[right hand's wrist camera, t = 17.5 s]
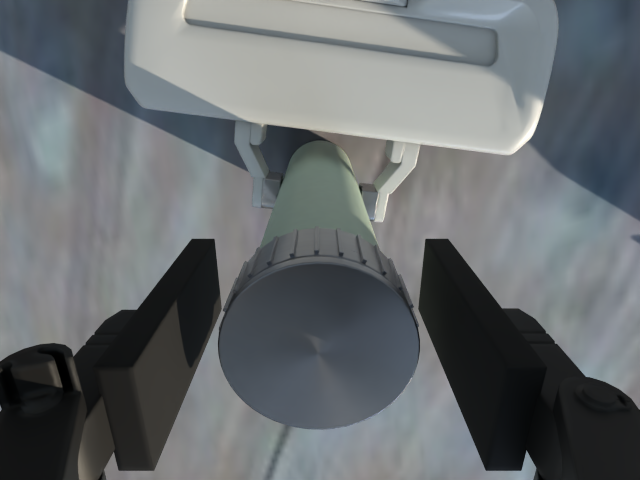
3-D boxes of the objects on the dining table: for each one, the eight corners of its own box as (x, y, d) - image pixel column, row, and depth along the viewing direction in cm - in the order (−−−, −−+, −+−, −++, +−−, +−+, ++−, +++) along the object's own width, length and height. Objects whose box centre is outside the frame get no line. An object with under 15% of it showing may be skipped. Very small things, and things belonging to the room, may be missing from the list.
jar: (346, 134, 28) (394, 246, 10) (355, 197, 30) (411, 391, 12) (281, 146, 28) (213, 275, 10) (294, 208, 30) (255, 412, 12)
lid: (223, 226, 12) (201, 261, 9) (410, 222, 11) (431, 256, 9) (241, 375, 13) (226, 433, 11) (401, 373, 13) (416, 430, 11)
